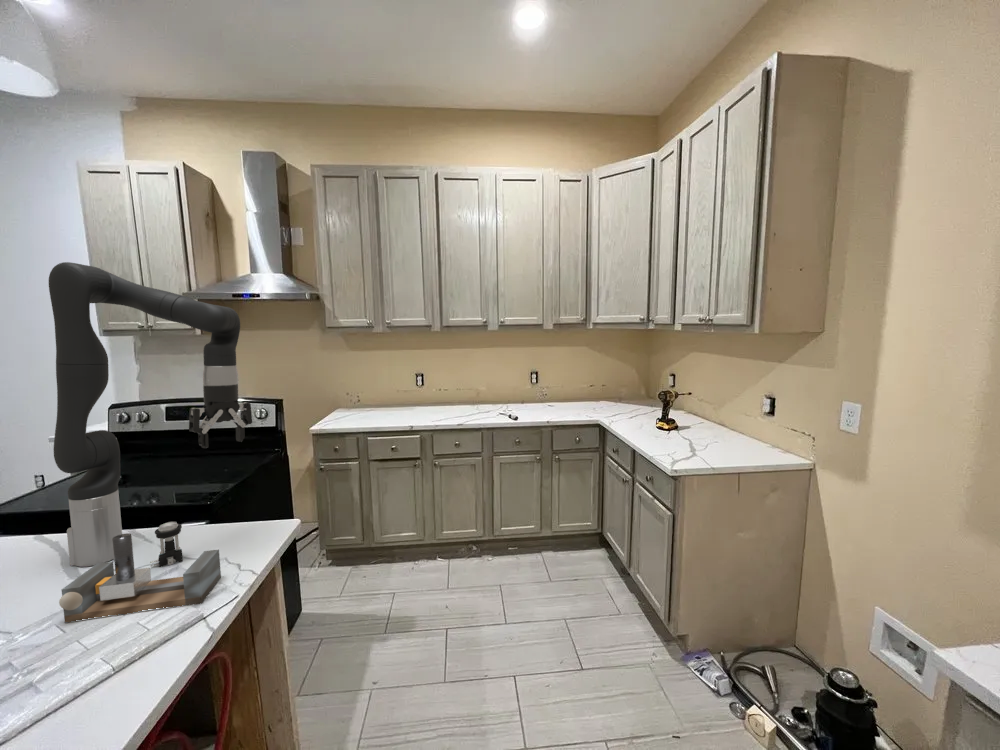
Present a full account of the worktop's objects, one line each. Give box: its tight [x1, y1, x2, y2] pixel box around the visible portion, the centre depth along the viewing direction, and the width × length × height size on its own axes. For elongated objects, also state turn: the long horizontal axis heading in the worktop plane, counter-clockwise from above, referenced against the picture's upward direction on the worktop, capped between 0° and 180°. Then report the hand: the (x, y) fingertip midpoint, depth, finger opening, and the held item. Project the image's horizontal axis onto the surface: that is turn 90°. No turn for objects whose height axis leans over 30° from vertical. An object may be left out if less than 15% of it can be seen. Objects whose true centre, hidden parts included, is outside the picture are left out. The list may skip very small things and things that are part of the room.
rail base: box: [58, 548, 222, 623], centre depth 90 cm, size 24×10×7 cm, turn 104°
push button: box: [149, 521, 184, 568], centre depth 105 cm, size 7×5×10 cm
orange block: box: [95, 577, 111, 594], centre depth 88 cm, size 2×3×2 cm, turn 14°
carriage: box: [99, 532, 152, 601], centre depth 89 cm, size 6×6×12 cm
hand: (222, 444), depth 109 cm, fingers open, 8 cm apart
